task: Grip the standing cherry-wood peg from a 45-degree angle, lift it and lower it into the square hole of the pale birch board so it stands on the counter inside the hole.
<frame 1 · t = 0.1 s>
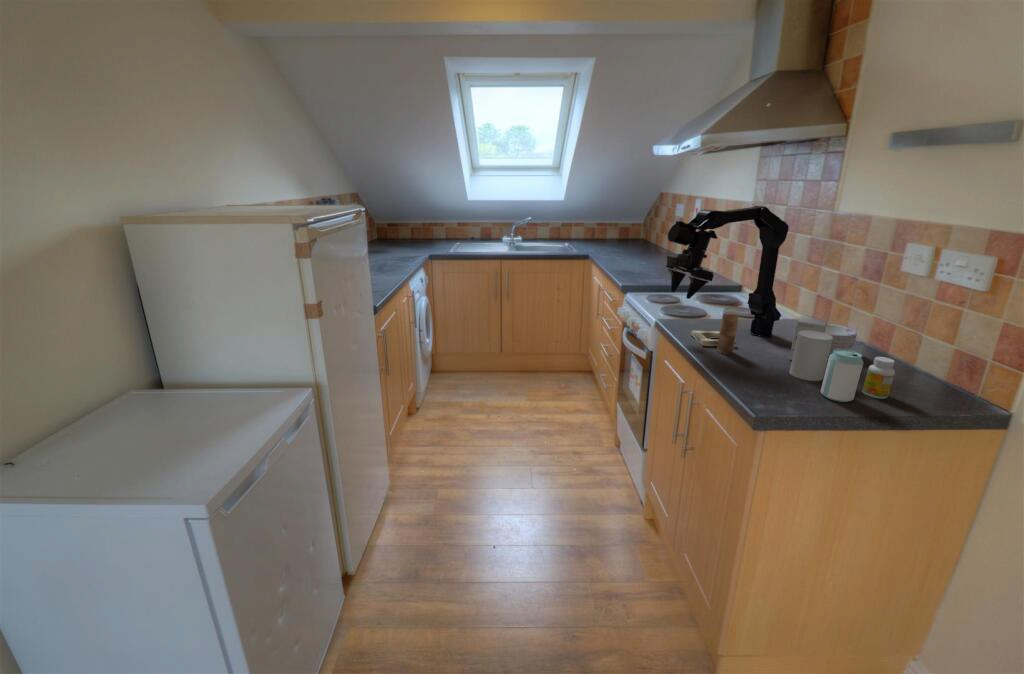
hand: (680, 295, 157), 15 cm above the table, tool pointing down, fingers open, 9 cm apart
supplement box: (803, 360, 145), on the table
paper bowls: (822, 352, 152), on the table
supplement bottle: (874, 395, 122), on the table
birch hole board: (712, 341, 160), on the table
can: (836, 397, 120), on the table
cup: (805, 375, 133), on the table
cherry wood peg: (724, 351, 150), on the table
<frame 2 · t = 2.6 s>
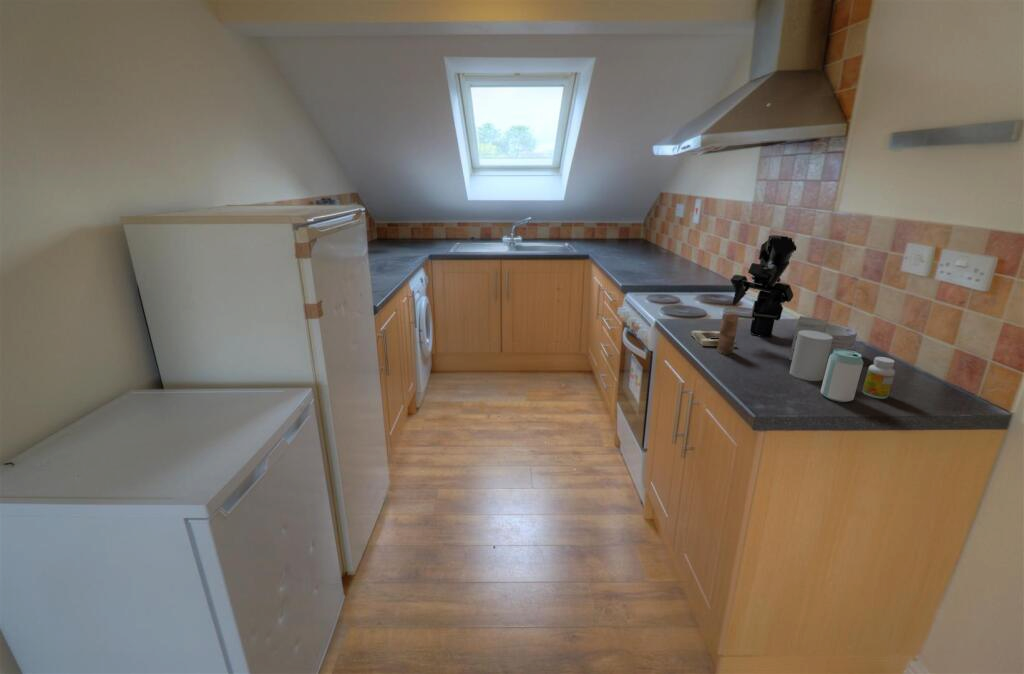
hand: (746, 307, 150), 13 cm above the table, tool tilted 45°, fingers open, 9 cm apart
nothing on the table moved.
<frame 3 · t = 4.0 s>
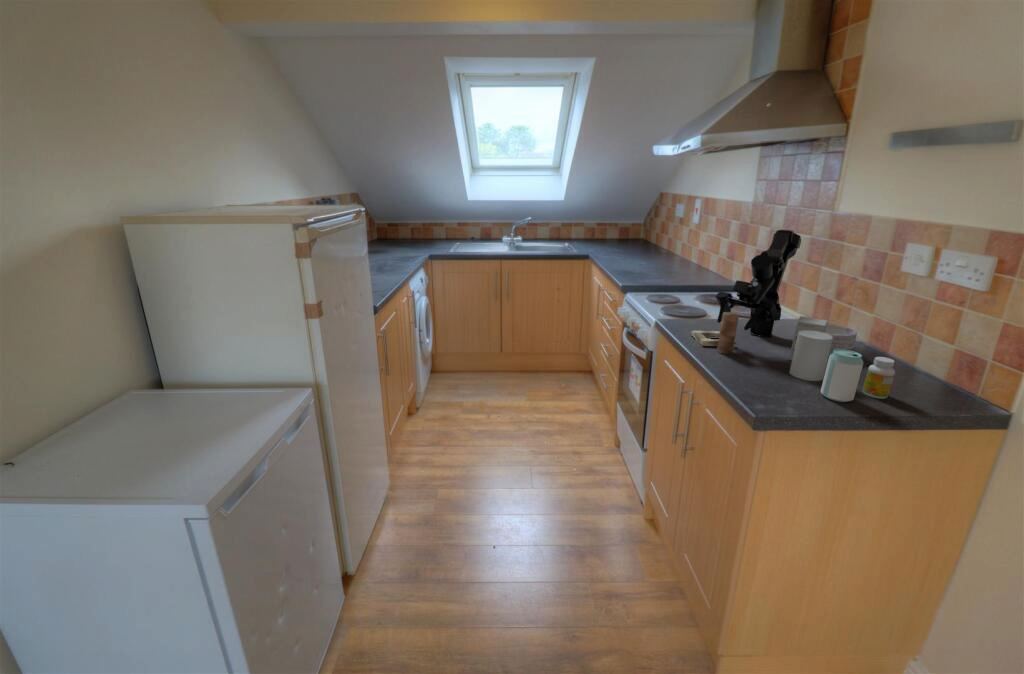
hand: (731, 325, 148), 9 cm above the table, tool tilted 45°, fingers open, 9 cm apart
nothing on the table moved.
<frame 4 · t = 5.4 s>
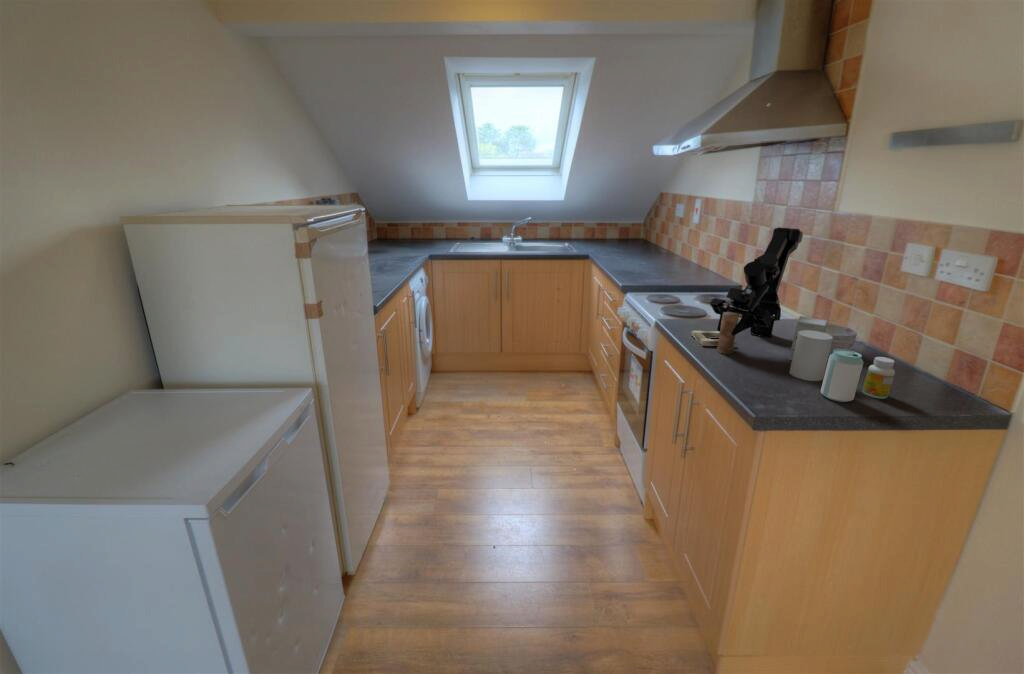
hand: (725, 332, 147), 7 cm above the table, tool tilted 45°, fingers closed on cherry wood peg, 5 cm apart
cherry wood peg: (724, 351, 150), on the table, touching gripper
everything else where it was.
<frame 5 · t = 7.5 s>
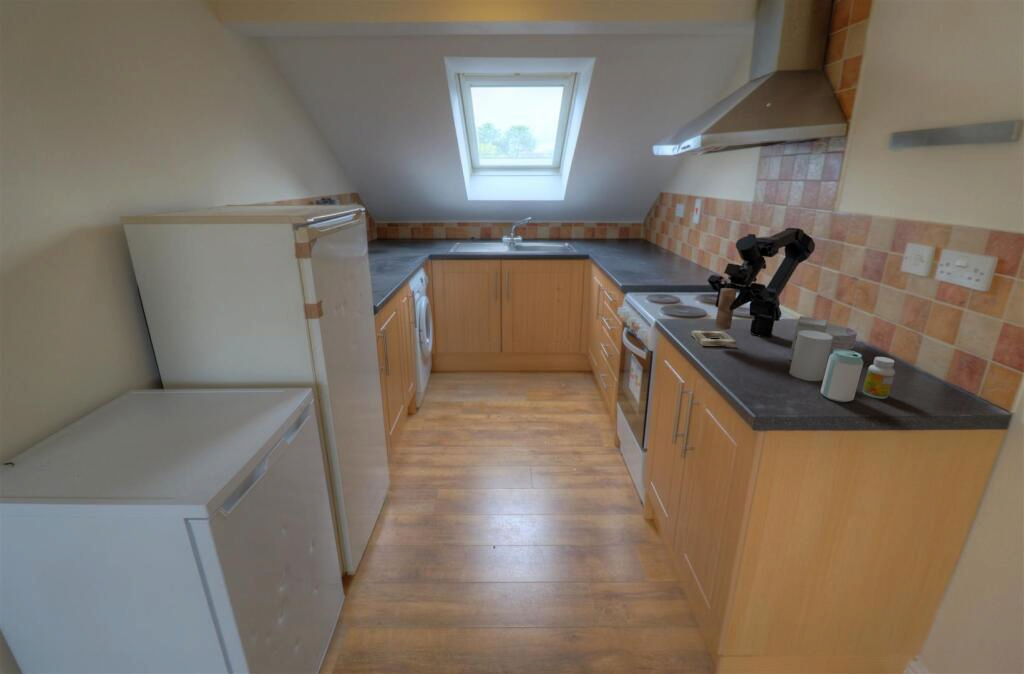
hand: (723, 308, 150), 13 cm above the table, tool tilted 45°, fingers closed on cherry wood peg, 5 cm apart
cherry wood peg: (722, 327, 153), point 7 cm above the table, touching gripper
everything else where it was.
when the fingers open (8 cm above the table, at t = 9.9 s): cherry wood peg stays where it is, resting in birch hole board.
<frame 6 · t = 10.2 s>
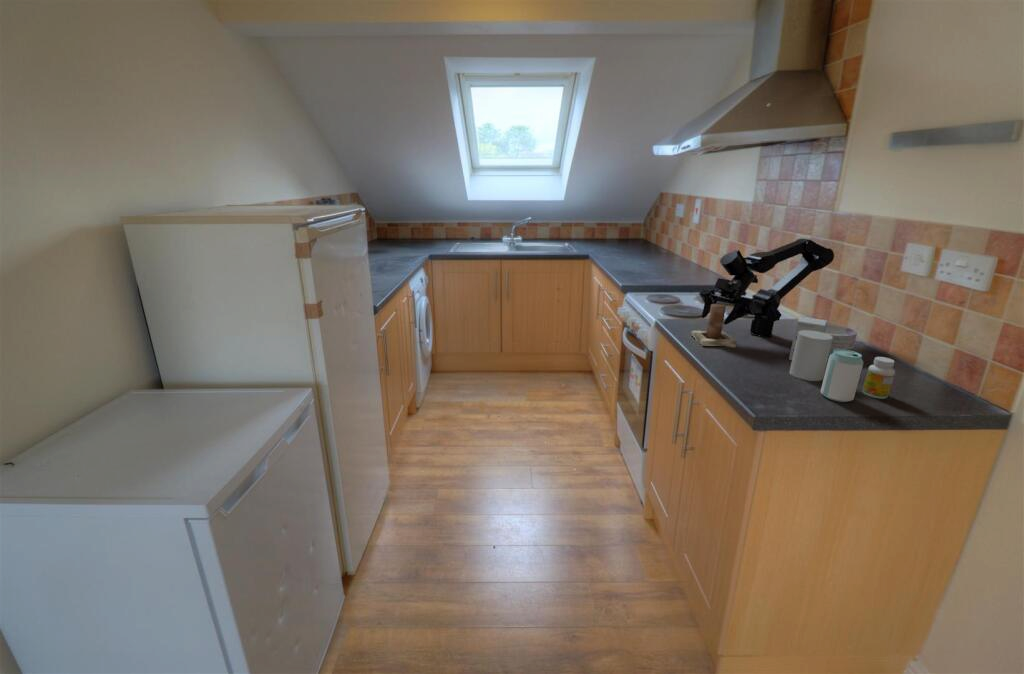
hand: (713, 320, 157), 8 cm above the table, tool tilted 45°, fingers open, 8 cm apart
cherry wood peg: (712, 341, 160), resting in birch hole board
everything else where it was.
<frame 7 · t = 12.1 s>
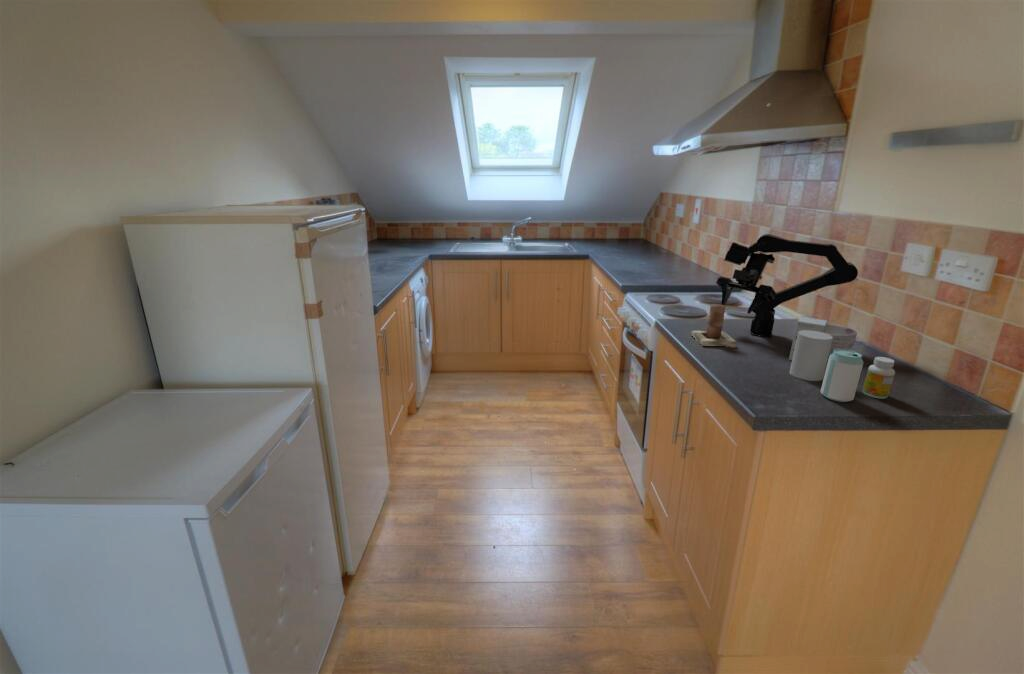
hand: (734, 310, 163), 10 cm above the table, tool tilted 30°, fingers open, 9 cm apart
nothing on the table moved.
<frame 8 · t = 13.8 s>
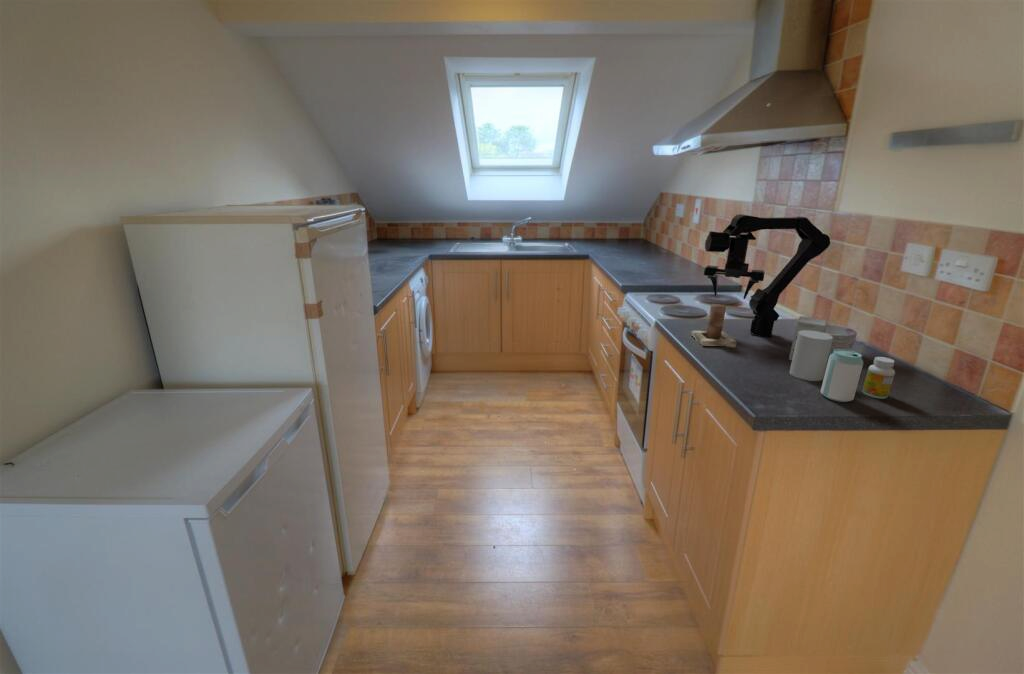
hand: (729, 297, 166), 13 cm above the table, tool pointing down, fingers open, 9 cm apart
nothing on the table moved.
at the end: cherry wood peg 0.1 cm from the birch hole board (horizontally); cherry wood peg touching table; cherry wood peg tilted 0° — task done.
